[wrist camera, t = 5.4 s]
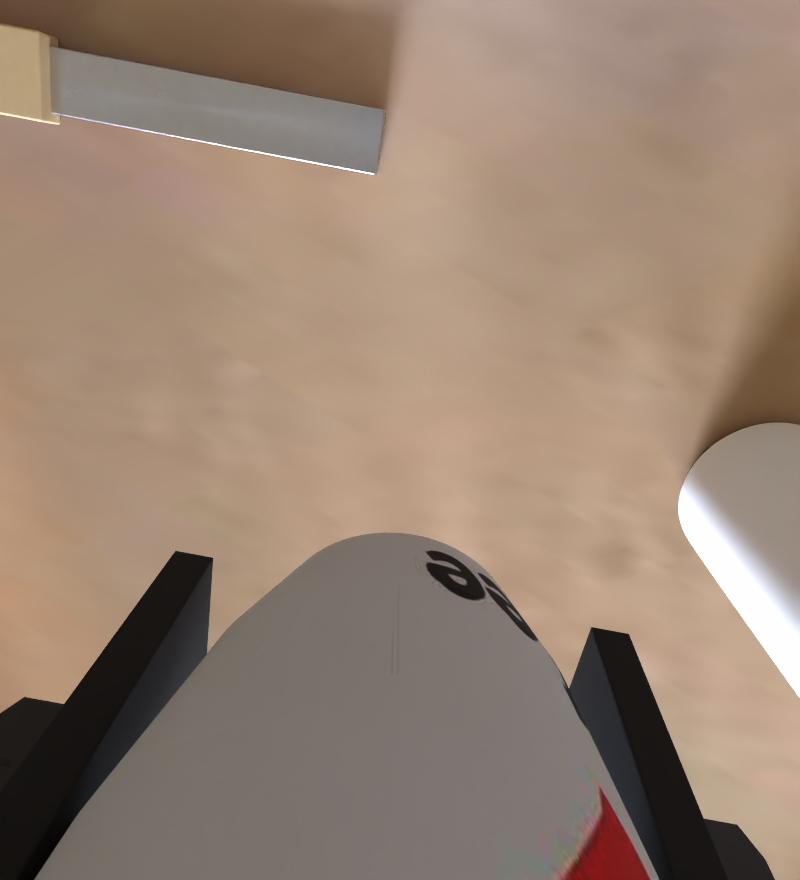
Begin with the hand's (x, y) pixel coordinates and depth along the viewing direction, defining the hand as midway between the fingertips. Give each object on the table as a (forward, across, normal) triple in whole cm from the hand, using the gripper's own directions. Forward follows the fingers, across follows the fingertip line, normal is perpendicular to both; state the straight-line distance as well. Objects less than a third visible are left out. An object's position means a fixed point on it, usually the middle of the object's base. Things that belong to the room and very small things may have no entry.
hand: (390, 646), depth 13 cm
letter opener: (+13, -12, +10) cm, 20 cm away
